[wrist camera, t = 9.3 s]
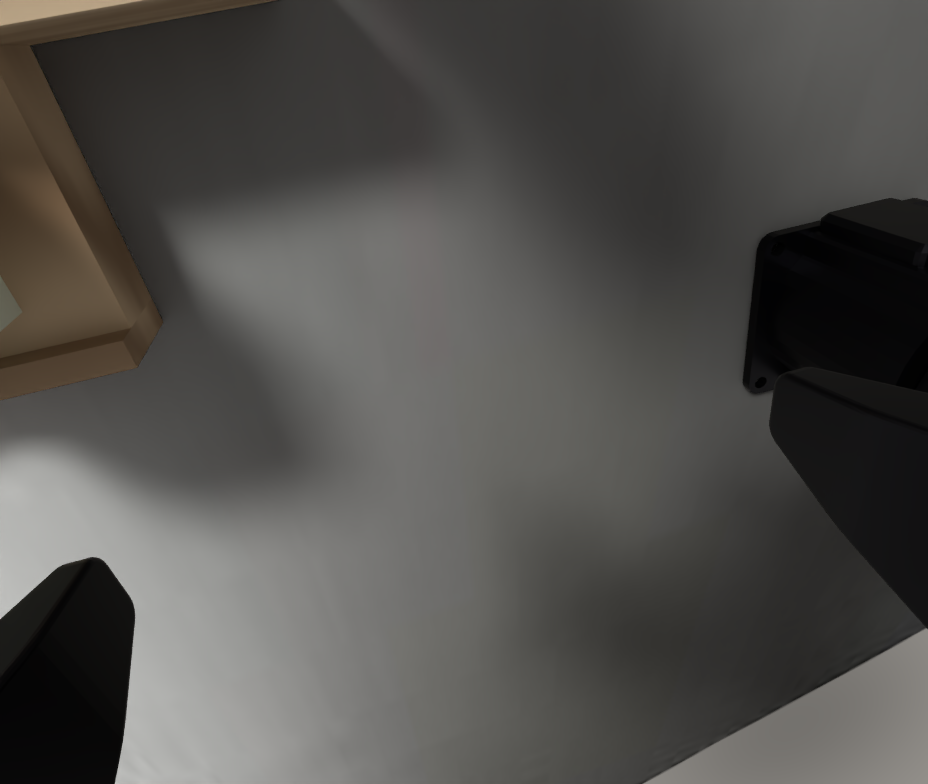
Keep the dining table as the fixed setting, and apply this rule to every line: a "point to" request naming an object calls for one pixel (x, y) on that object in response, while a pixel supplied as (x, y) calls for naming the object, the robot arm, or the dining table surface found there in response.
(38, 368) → the light brown t-shaped piece
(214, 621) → the dining table surface
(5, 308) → the block
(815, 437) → the robot arm
